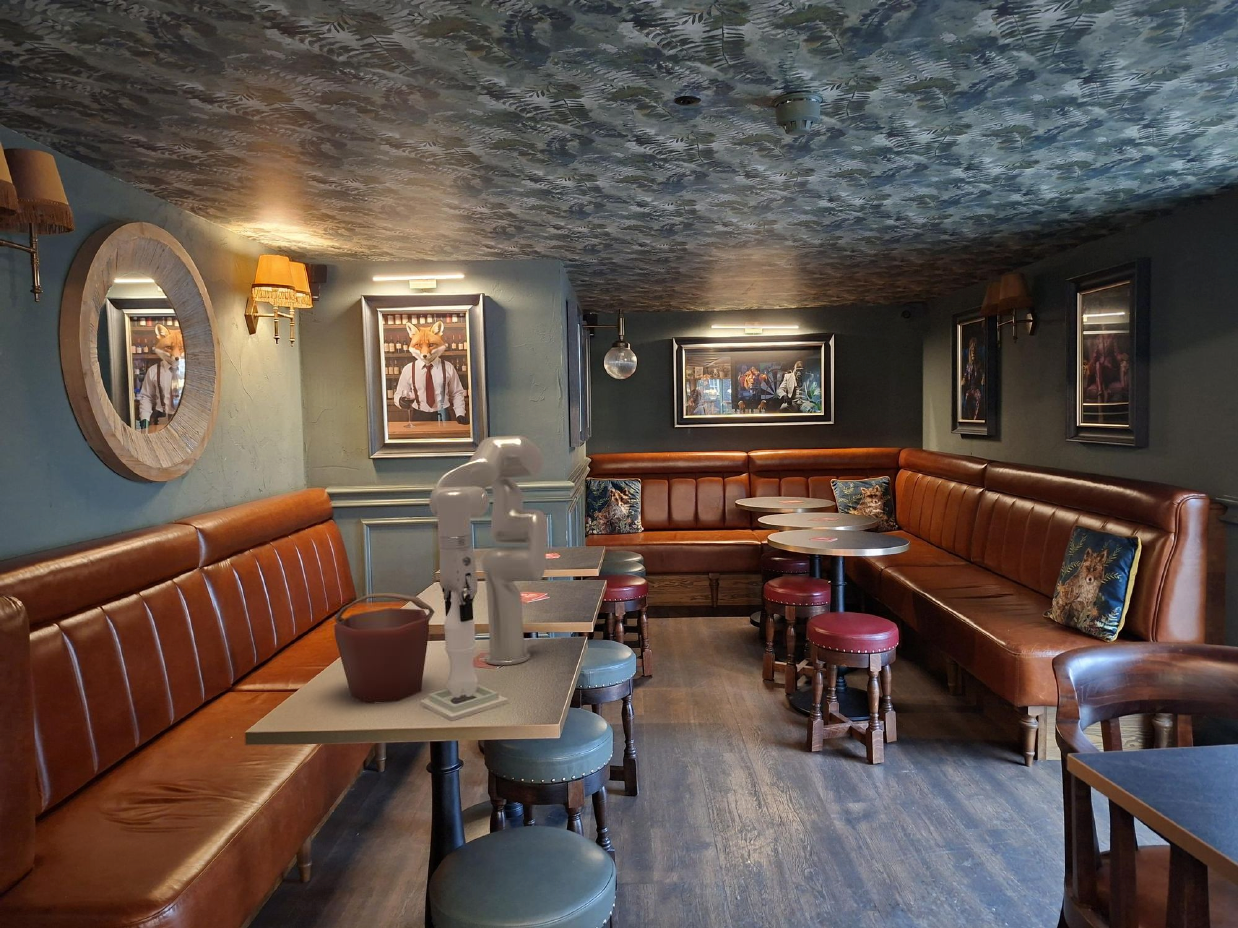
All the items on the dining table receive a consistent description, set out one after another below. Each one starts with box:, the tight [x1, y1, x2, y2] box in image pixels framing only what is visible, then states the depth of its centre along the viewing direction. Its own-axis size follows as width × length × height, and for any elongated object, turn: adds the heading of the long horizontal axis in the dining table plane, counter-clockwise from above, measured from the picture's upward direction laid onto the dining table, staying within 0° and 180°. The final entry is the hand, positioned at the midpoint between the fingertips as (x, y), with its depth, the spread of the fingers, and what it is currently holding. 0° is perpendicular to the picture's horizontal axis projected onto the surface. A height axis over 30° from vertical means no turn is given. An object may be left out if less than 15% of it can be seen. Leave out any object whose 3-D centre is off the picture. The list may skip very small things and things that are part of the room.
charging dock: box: [419, 683, 509, 722], centre depth 188 cm, size 15×15×2 cm
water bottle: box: [443, 589, 479, 698], centre depth 188 cm, size 7×7×25 cm
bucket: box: [333, 592, 435, 704], centre depth 198 cm, size 24×22×25 cm
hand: (459, 617), depth 187 cm, fingers closed on water bottle, 6 cm apart
